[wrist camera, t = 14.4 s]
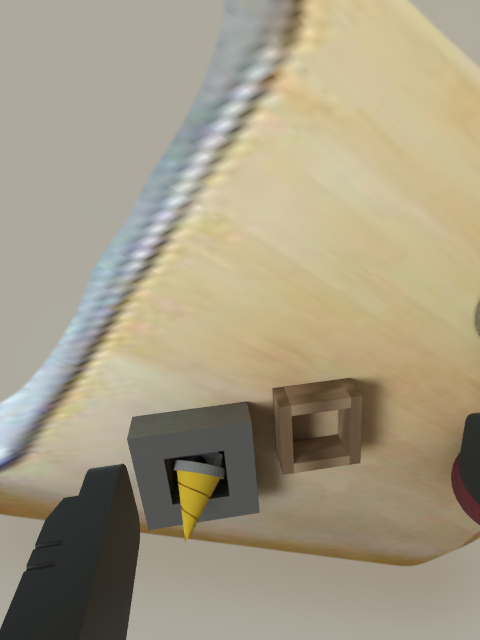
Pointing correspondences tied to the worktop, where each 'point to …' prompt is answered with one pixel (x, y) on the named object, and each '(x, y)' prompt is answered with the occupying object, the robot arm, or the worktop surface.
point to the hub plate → (191, 439)
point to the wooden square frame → (318, 449)
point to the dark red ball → (464, 494)
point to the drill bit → (197, 485)
